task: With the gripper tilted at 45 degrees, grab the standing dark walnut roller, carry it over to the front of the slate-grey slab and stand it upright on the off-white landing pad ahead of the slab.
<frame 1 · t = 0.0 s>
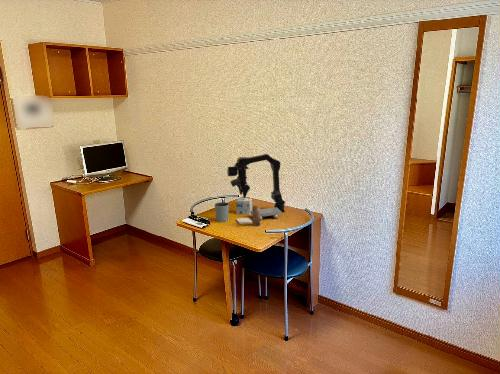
hand: (242, 196, 278), 15 cm above the table, tool pointing down, fingers open, 9 cm apart
light bulb box: (244, 213, 287), on the table
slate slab: (266, 217, 276), on the table
walnut roller: (256, 224, 262), on the table
landing pad: (244, 221, 269), on the table
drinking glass: (222, 220, 273), on the table
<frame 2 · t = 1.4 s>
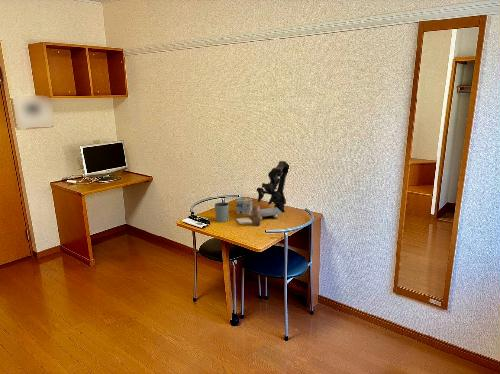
hand: (263, 203, 265), 13 cm above the table, tool tilted 45°, fingers open, 9 cm apart
nothing on the table moved.
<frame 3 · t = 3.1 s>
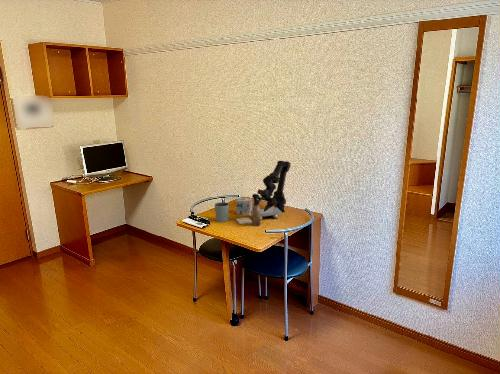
hand: (258, 209, 262), 10 cm above the table, tool tilted 45°, fingers open, 9 cm apart
nothing on the table moved.
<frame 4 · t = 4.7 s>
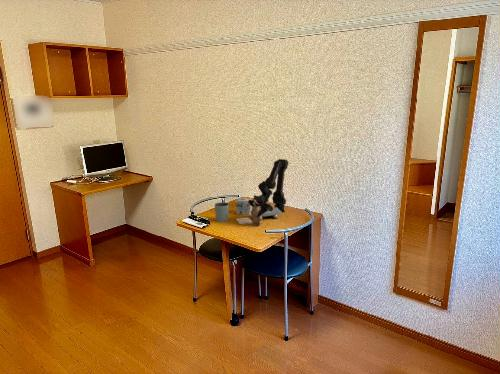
hand: (254, 216, 259), 7 cm above the table, tool tilted 45°, fingers closed on walnut roller, 5 cm apart
walnut roller: (256, 224, 262), on the table, touching gripper
everything else where it was.
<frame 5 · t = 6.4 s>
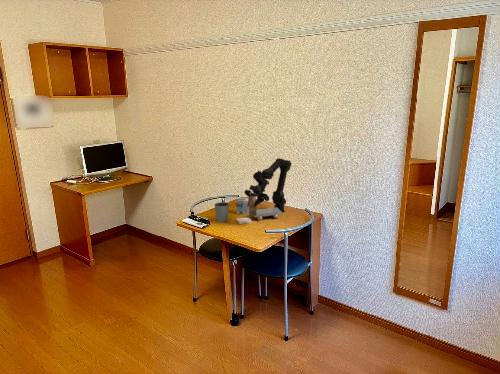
hand: (251, 205, 260), 13 cm above the table, tool tilted 45°, fingers closed on walnut roller, 5 cm apart
walnut roller: (252, 214, 263), point 7 cm above the table, touching gripper
everything else where it was.
when the fingers open (9 cm above the table, at t = 8.3 s): walnut roller drops 1 cm, resting on landing pad.
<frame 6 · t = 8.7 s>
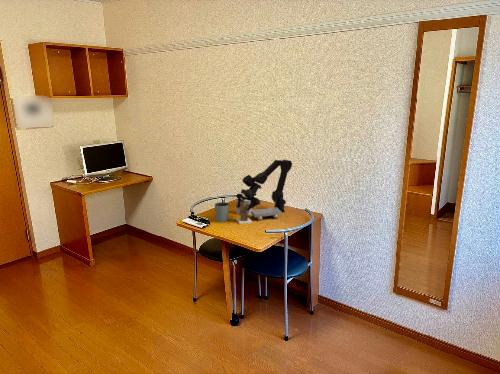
hand: (242, 209, 266), 9 cm above the table, tool tilted 45°, fingers open, 9 cm apart
walnut roller: (244, 219, 269), point 1 cm above the table, touching landing pad
everything else where it was.
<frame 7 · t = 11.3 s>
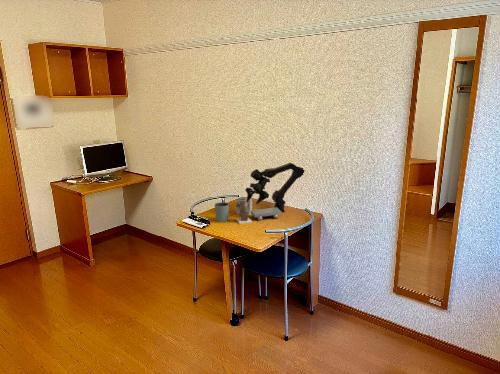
hand: (251, 202, 272), 12 cm above the table, tool tilted 45°, fingers open, 9 cm apart
nothing on the table moved.
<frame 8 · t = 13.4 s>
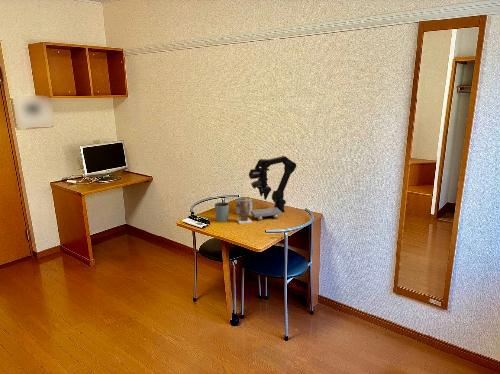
hand: (263, 197, 278), 13 cm above the table, tool pointing down, fingers open, 9 cm apart
nothing on the table moved.
at the end: walnut roller 0.1 cm off-centre on the landing pad, point 1.0 cm above the landing pad's base; walnut roller tilted 0°; the gripper is holding nothing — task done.
